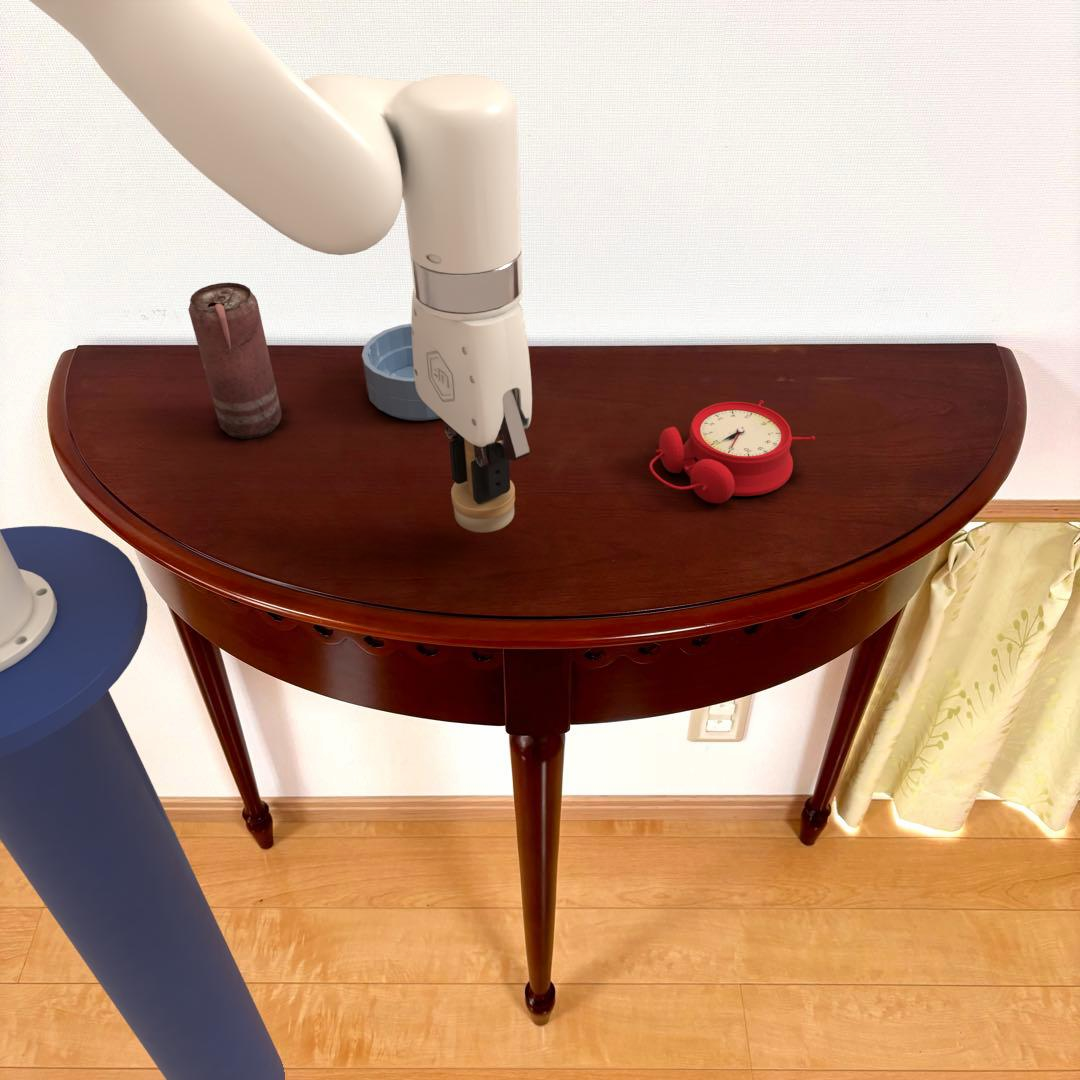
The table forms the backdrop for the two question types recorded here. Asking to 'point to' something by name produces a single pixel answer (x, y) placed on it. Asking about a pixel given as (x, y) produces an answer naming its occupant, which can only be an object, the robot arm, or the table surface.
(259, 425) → the can
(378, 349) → the bowl
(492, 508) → the dish brush
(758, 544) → the table surface
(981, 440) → the table surface
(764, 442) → the alarm clock
